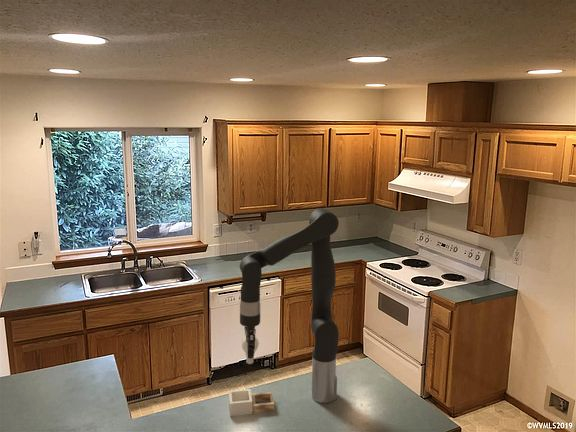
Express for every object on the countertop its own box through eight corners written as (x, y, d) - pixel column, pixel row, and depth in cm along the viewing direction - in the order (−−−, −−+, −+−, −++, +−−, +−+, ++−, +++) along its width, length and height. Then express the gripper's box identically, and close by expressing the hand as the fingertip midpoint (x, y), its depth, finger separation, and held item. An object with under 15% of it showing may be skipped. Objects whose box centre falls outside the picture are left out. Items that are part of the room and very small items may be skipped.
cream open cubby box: (250, 400, 179) (250, 388, 178) (252, 413, 171) (252, 401, 170) (229, 402, 178) (228, 390, 177) (230, 415, 170) (229, 403, 169)
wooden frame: (271, 398, 180) (271, 391, 180) (274, 410, 173) (274, 403, 172) (251, 400, 179) (251, 393, 179) (253, 413, 171) (253, 405, 171)
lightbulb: (255, 368, 168) (256, 341, 166) (239, 366, 169) (239, 339, 167) (260, 360, 174) (260, 333, 172) (244, 358, 175) (244, 331, 173)
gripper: (262, 318, 161) (262, 362, 165) (258, 303, 175) (257, 343, 178) (241, 319, 160) (241, 363, 163) (238, 304, 174) (238, 345, 177)
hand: (249, 353), depth 171 cm, fingers closed on lightbulb, 6 cm apart
